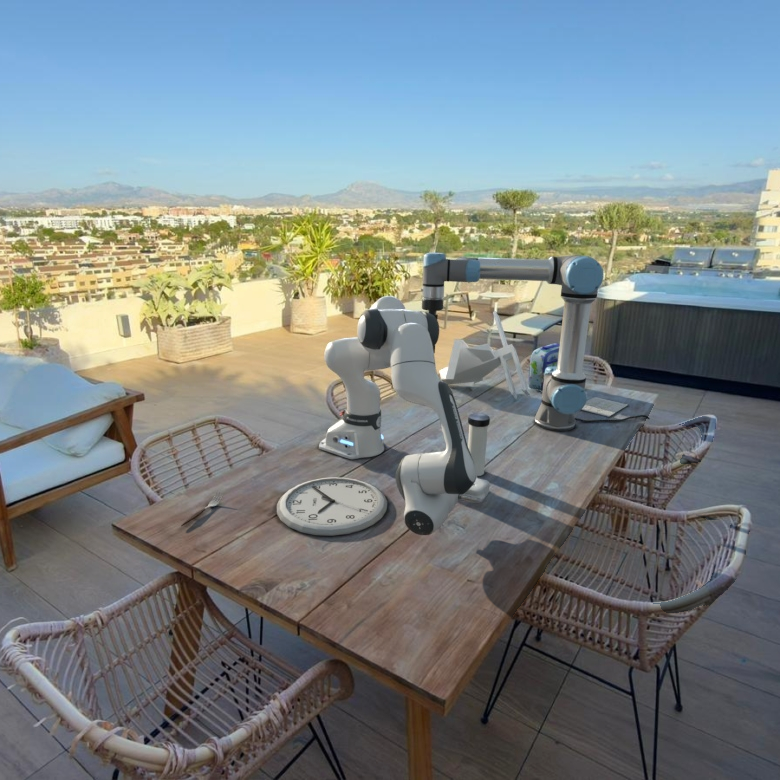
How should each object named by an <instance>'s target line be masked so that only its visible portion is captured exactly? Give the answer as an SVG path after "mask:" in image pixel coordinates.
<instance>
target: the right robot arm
mask: <svg viewBox="0 0 780 780" xmlns="http://www.w3.org/2000/svg"><path fill="white" fill-rule="evenodd" d="M422 264H423V265H422V288H420V292H421V293H422V294H421V296H422V299H421V309H422V311H428V313H430V314H432V315H434V316H435V318H436V319H437V320H438V318H439V315H438V314H437V311H438V312H439V311H442V310H444V299H443V298H444V297H445V282H447V283H449V282H452V283H453V282H457V283H468V284H470V283H477V282H479V281H480V280H495V281H497V280H499V281H500V280H501V281H526V282H527V281H531V282H546V283H547V284H548V285H557V286H561V289H560V298H561V299H562V300H563V303H564V305H563V313H562V322H561V330H560V339H559V344H560V346H559V355H558V364H557V366H553V367H547V368H546V369H545V373H544V382H543V391H541V392H542V394H541V402H540V405H539V407H538V410H537V411H536V413H535V414H534V424H535V425H536V426H537V427H539V428H542V429H544V430H549V431H556V432H567V431H572V430H574V429H575V428H576V421H577V422H582V423H604V422H607V423H616V422H617V423H618V422H624V421H628V420H632V419H637V418H645V419H647V420H650V419H651V418H650V417H649V416H648V415H645V414H638V415H633V416H632V415H631V416H628V417H625V418H619V419H581V418H578V417H576V416H575V414H576V413H579V412H580V411H582V410H581V409H582V408H583V407H584V406H585V404H586V401H588V397H587V392H586V389H585V388H586V383H587V382H586V381H587V375H586V374H585V373H584V371H583V369H584V361H585V355H586V347H587V339H588V338H587V337H588V330H589V324H590V318H591V317H590V316H591V308H592V303H593V302H594V301H596V300H597V298H598V294H599V293H598V291H599V288H601V285H602V284H603V281H604V269H603V267H602V265H601V264H600V262H599V261H597V260H596V259H595V258H594V257H592V256H587V255H581V254H574V255H573V254H572V255H565V256H551V257H549V258H548V259H545V258H544V259H543V258H542V259H541V258H540V259H539V258H501V257H500V258H497V257H496V258H495V257H494V258H492V257H466V256H460V257H457V258H455V259H451V258H449V259H448V258H447V257H446V253H444V252H427V253H425V254H424V255H423V263H422ZM433 351H434V354H435V353H436V345H435V346H434V347H433Z"/></svg>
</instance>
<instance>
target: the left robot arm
mask: <svg viewBox="0 0 780 780" xmlns="http://www.w3.org/2000/svg"><path fill="white" fill-rule="evenodd" d="M356 330H357V331H356V332H357V333H356V334H357V335H356V337H343V338H339V339H335V340H332V341H330V342H328V343H327V345H326V346H325V349H324V353H323V359H324V362H325V365H326V367H327V368H328V369H329V370H330V371H332V372H333V373H334V374H336V375H337V376H338V377H339V379H340V380H341V381H342V383H343V385H344V388H345V389H344V390H345V395H346V408H344V409H343V410H342V411H341V412H339V414H340V415H339V416H340V417H342V418H341V419H340V420H338V421H337V422H335V423H334V424H332V425H331V426H330V427H328V429H327V431H326V434H325V438H324V439H322V440H321V441H320V443H319V444H318V449H319V450H322V451H323V452H324V451H325V452H327V453H330V454H334V455H336V456H339V457H342V458H345V459H348V460H356V459H362V458H371V457H377V456H378V455H380V454H382V453H384V451H385V446H384V442H383V440H384V435H383V434H382V430H381V427H382V409H381V389H380V387H379V386H378V384H377V383H375V382H374V381H372V380H370V379H367V378H365V375H364V374H365V372H369V371H377V370H378V371H379V370H380V371H381V370H385V369H389V368H390V377H391V384H392V387H393V390H394V392H395V393H396V394H397V395H398V396H399V398H401V399H403V400H404V401H406V402H409V403H412V404H415V405H419V406H424V407H427V408H430V409H431V410H433V411H434V412H435V413H436V414H437V417H438V419H439V423H440V426H441V427H440V428H441V431H442V435H443V439H444V443H445V450H442V451H431V452H421V453H420V452H419V453H413V454H406V455H404V457H402V459H400V462H399V464H398V465H397V469H396V471H395V484H396V487H397V490H398V492H399V495H400V496H401V497H402V499H403V501H404V502H405V503H404V504H405V505H404V506H405V508H404V512H403V521H404V524H405V527H406V528H407V529H408V530H409V531H410V532H412V533H413V534H416V535H419V536H429V535H432V534H433V533H435V532H436V531H438V530H439V529H440V528H441V526H443V524H444V523H445V521H446V520H447V518H448V516H449V514H450V513H451V512H452V511H453V509H454V508H455V507H456V505H457V503H458V502H459V501H464V502H468V503H473V504H478V503H480V502H484V500H485V498H486V497H487V496H488V495H489V491H490V482H489V480H487V479H483V478H479V476H477V473H476V470H475V465H474V462H473V459H472V456H471V454H470V451H469V448H468V441H467V438H466V435H465V431H464V428H463V424H462V419H461V416H460V412H459V409H458V406H457V401H456V399H455V396H454V393H453V391H452V389H451V387H450V385H448V384H446V383H444V382H443V381H442V380H441V377H439V376H440V375H439V374H438V372H437V366H436V357H435V353H434V351H433V347H434V346H435V347H436V344H437V343H438V341H439V337H440V323H439V321H438V319H436V318H435V316H434V315H432V314H430V313H429V312H427V311H424V310H420V311H419V310H418V311H417V310H412V309H406V307H405V305H404V303H403V302H402V300H400V298H397V297H395V296H392V295H385V296H381V297H380V298H378V299H377V300H376V301H375V302H374V303H373V304H372V305H371V306H370V308H369V309H366V310H364V311H363V312H362V313H361V314H360V315H359V317H358V322H357V325H356Z"/></svg>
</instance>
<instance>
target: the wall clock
mask: <svg viewBox="0 0 780 780" xmlns="http://www.w3.org/2000/svg"><path fill="white" fill-rule="evenodd" d="M387 509H388V500H387V498H386V496H385V494H384V493H383V492H382V491H381V490H380V489H379V488H377V487H376V486H374V485H372V484H371V483H369V482H365V481H362V480H359V479H355V478H349V477H338V476H337V477H335V476H333V477H332V476H331V477H322V478H317V479H312V480H307V481H305V482H302V483H299V484H297V485H295V486H293V487H292V488H290V489H288V490H287V491H286V492H285V493H284V494H283V495H281V496H280V498H279V499H278V502H277V503H276V515H277V517H278V518H279V520H280V521H281V522H282V523H283V524H285V525H286V526H287V527H288V528H290V529H293V530H295V531H297V532H299V533H303V534H308V535H312V536H327V537H328V536H329V537H331V536H332V537H333V536H342V535H350V534H352V533H356V532H361V531H363V530H366V529H368V528H369V527H372V526H373V525H375V524H376V523H378V522H379V521H380V520H381V519H382V518H383V517H384V516H385V514H386V512H387Z"/></svg>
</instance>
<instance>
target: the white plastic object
mask: <svg viewBox="0 0 780 780" xmlns="http://www.w3.org/2000/svg"><path fill="white" fill-rule="evenodd" d="M492 315H493V319H494V321H495V324H496V325H495V326H496V328H497V332H498V335H499V338H500V342H501V345H502V347H500V348H498V349H496V350H495V349H493V348H492V347H491V346H490V344H489V343H488V342H487V343H483V344H479V345H473V346H469V345H468V343H466V342H465V340H464V339H463V338H460V339H458V338H454V340H453V344H452V349H451V353H450V357H449V362H448V366H446V367H444V368H442V369H440V370H439V371H438V372H439V376H440V380H441V381H442V382H444V383H446V384H448V386H450V385H458V384H467V383H468V384H469V383H473V384H477V383H480V382H482V381H484V378H485V377H486V376H487V375H489V374H490V373H492V372H494V371H495V370H496V369H497V368H499V367H500V366H502V370H503V373H504V376H505V380H506V383H507V386H508V390H509V393H510V394H511V395H512V397H513V398H514V399H515V400H517V392H516V391H517V390H516V388H515V385H514V381H513V378H512V375H511V371H510V369H509V365H508V361H510V360H513V363H514V366H515V369H516V372H517V376H518V380H519V382H520V385H521V389H522V391H523V393H524V395H525V396H526V397H528V396H531V395H530V390H529V386H528V384H527V381H526V378H525V375H524V371H523V369H522V368H523V367H522V366H521V362H520V359H519V355H518V352H517V349H516V347H515V346H514V345H513V343H511V344H508V341H507V337H506V334H505V331H504V328H503V325H502V321H501V318H500V315H499V314H498V312H497V311H496V310H495V311H492Z"/></svg>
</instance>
